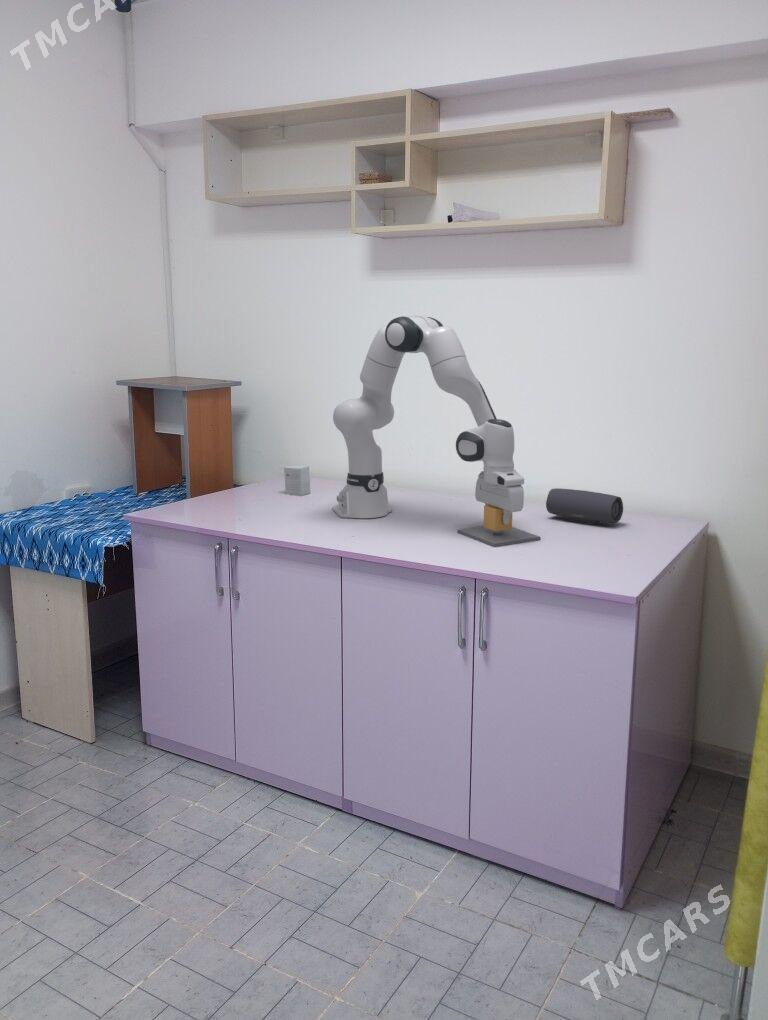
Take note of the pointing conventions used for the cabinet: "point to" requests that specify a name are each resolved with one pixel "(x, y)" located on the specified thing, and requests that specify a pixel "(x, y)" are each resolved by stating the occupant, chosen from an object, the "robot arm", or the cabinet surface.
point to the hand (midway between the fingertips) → (497, 521)
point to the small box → (297, 480)
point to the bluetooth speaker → (584, 506)
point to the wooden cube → (495, 519)
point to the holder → (498, 536)
